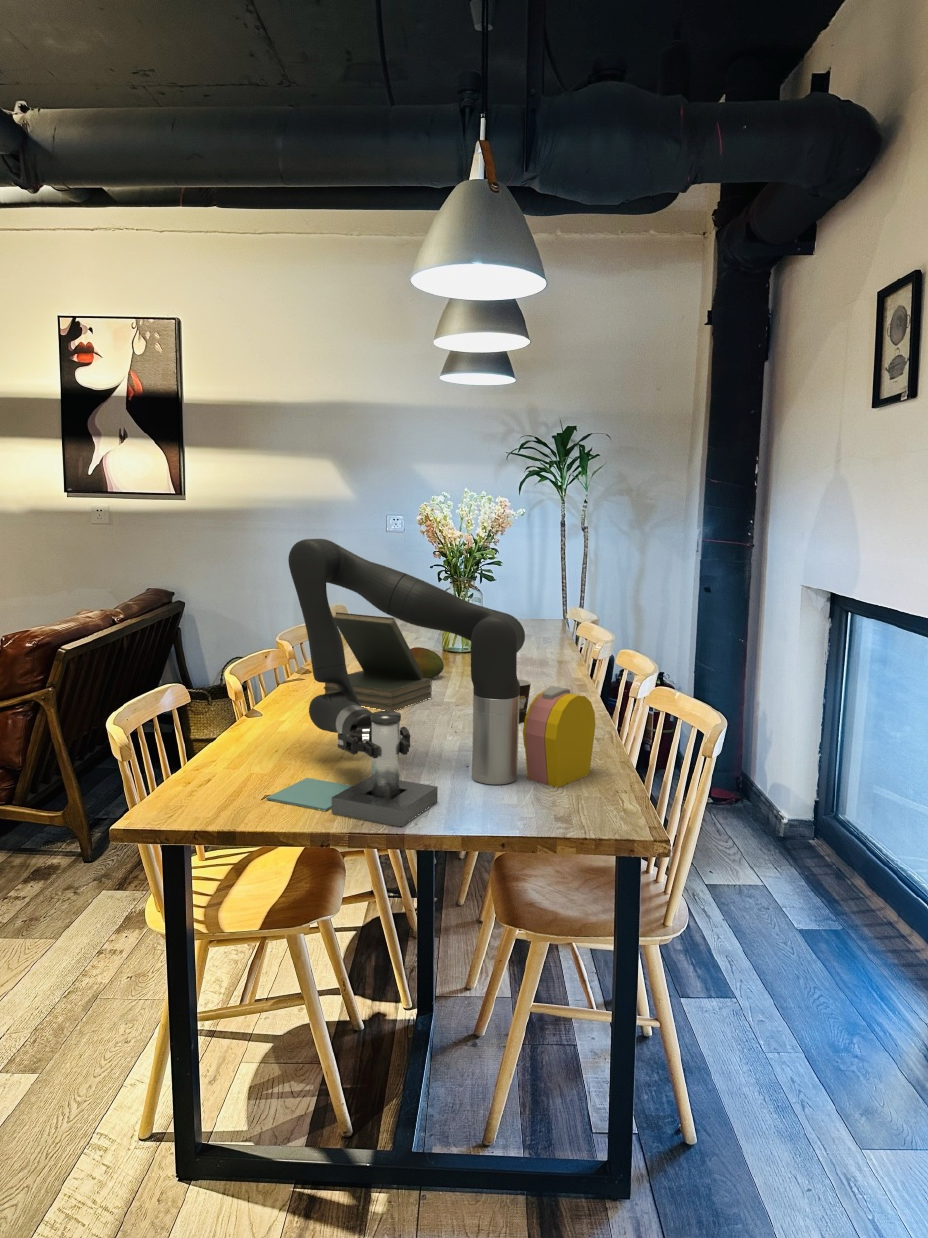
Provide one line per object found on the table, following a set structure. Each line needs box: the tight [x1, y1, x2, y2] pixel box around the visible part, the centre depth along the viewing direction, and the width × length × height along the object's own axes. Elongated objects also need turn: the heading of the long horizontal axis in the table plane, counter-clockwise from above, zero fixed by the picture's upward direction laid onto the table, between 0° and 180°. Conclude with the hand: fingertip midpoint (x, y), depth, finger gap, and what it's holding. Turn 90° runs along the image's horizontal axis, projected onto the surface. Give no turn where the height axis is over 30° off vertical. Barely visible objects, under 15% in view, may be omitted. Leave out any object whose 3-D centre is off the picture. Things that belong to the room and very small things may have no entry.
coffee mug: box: [517, 678, 532, 724], centre depth 220 cm, size 12×9×10 cm
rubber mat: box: [265, 777, 353, 812], centre depth 162 cm, size 13×13×1 cm
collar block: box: [331, 775, 439, 827], centre depth 156 cm, size 14×14×3 cm
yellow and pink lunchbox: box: [522, 685, 596, 788], centre depth 175 cm, size 15×8×18 cm, turn 141°
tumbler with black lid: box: [371, 710, 402, 799], centre depth 154 cm, size 5×5×15 cm
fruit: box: [410, 646, 445, 679], centre depth 271 cm, size 12×13×10 cm
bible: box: [323, 611, 433, 711], centre depth 239 cm, size 23×20×25 cm
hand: (391, 750), depth 152 cm, fingers closed on tumbler with black lid, 5 cm apart
